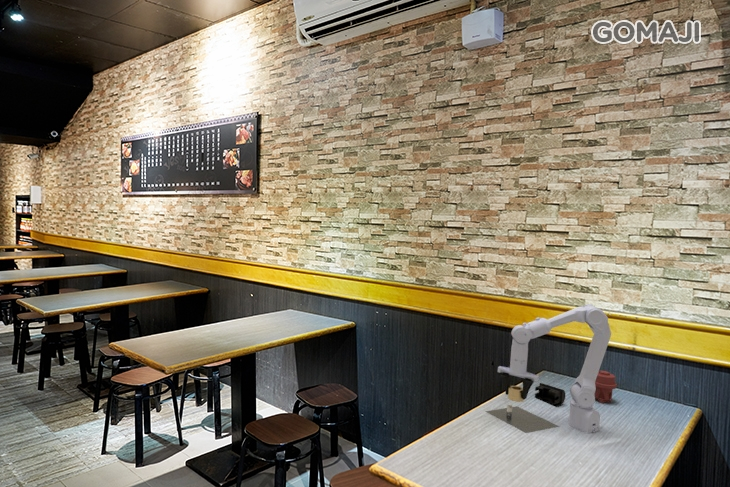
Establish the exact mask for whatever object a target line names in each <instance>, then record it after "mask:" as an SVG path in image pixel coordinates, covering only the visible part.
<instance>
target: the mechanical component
mask: <svg viewBox="0 0 730 487" xmlns="http://www.w3.org/2000/svg"><path fill="white" fill-rule="evenodd" d="M595 387H596V391H595V398H596V399H595V400H598V403H601V404H603V403H611V402H612V399H613V390H615V389H616V388H618V383H617V382H616V375H614V374H613V373H610V372H609V371H606V370H599V372H598V375H597V378H596V381H595Z"/></svg>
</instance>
